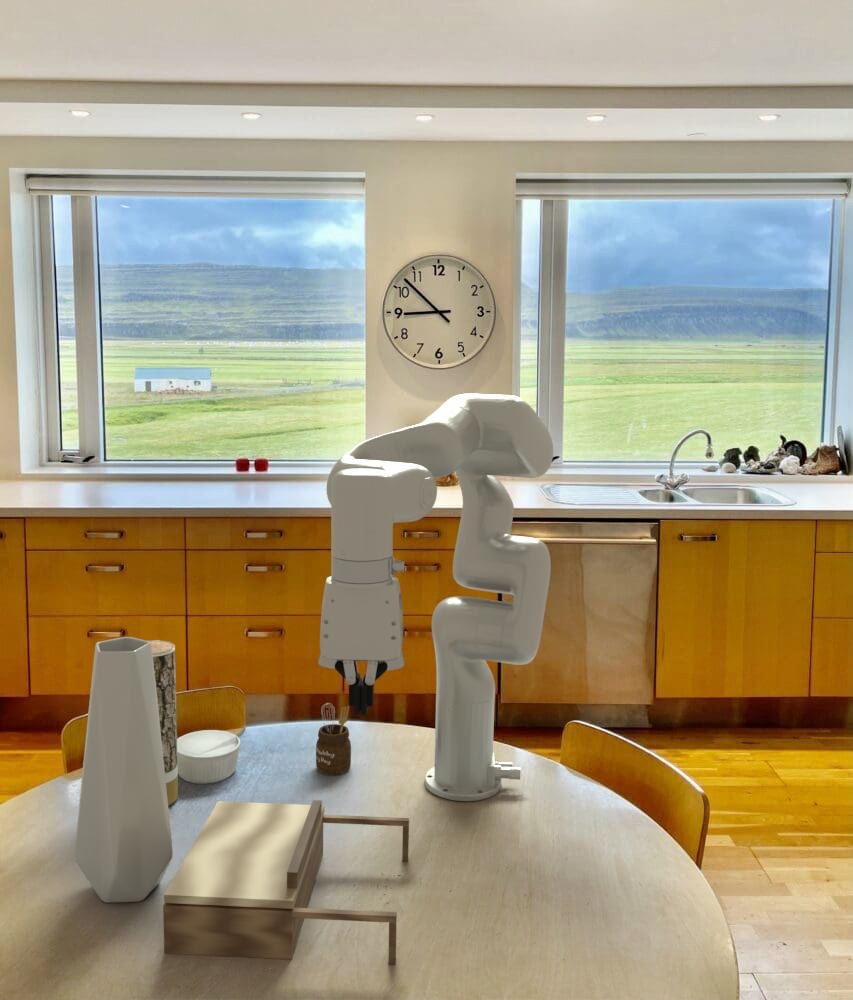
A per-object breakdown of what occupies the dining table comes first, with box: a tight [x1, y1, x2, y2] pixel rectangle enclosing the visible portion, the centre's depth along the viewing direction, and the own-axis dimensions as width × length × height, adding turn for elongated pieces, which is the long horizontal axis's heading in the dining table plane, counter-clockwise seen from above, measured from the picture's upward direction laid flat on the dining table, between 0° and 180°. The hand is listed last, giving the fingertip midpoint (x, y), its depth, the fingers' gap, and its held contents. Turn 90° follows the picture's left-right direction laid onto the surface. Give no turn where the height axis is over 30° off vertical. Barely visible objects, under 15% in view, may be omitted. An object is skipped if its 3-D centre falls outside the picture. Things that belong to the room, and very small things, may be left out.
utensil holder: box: [315, 702, 352, 776], centre depth 155 cm, size 6×6×12 cm
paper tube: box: [147, 639, 179, 807], centre depth 142 cm, size 7×7×25 cm
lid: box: [163, 799, 325, 909], centre depth 117 cm, size 15×23×3 cm, turn 177°
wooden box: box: [162, 814, 410, 965], centre depth 117 cm, size 27×23×6 cm
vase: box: [74, 636, 174, 904], centre depth 117 cm, size 12×12×33 cm
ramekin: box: [177, 729, 242, 785], centre depth 154 cm, size 11×11×5 cm
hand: (361, 711), depth 116 cm, fingers closed
